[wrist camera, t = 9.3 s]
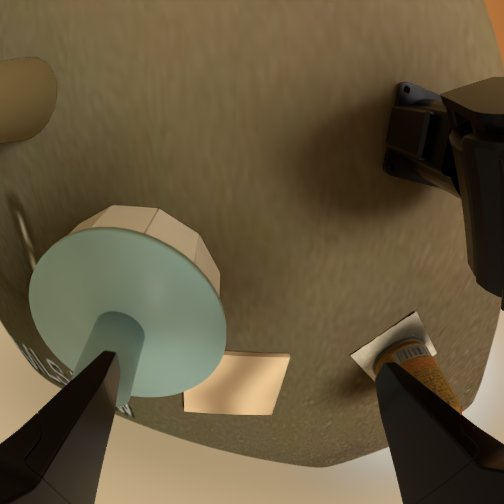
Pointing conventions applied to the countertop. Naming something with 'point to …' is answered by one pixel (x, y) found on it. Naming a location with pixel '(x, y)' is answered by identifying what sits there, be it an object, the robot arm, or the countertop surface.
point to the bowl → (158, 233)
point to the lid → (129, 310)
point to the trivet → (240, 385)
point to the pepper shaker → (25, 97)
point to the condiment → (408, 357)
